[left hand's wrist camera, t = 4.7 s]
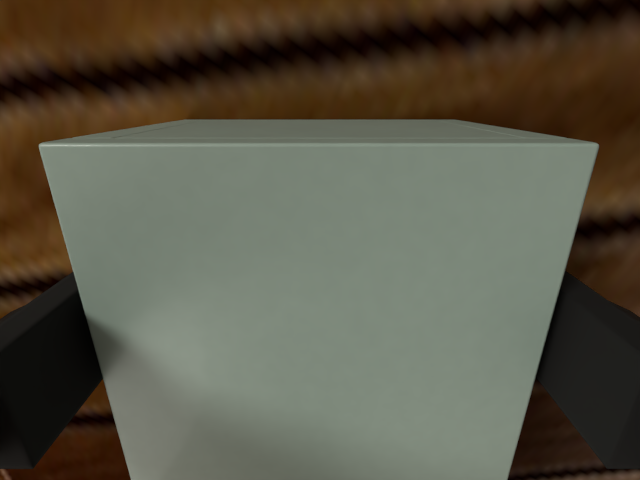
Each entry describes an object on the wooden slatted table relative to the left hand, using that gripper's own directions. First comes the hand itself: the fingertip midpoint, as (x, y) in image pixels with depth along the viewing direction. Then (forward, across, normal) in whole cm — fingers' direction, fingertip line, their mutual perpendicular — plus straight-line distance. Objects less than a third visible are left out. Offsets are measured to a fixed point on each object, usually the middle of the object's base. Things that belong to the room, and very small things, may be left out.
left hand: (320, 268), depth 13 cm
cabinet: (+4, 0, -3) cm, 5 cm away
